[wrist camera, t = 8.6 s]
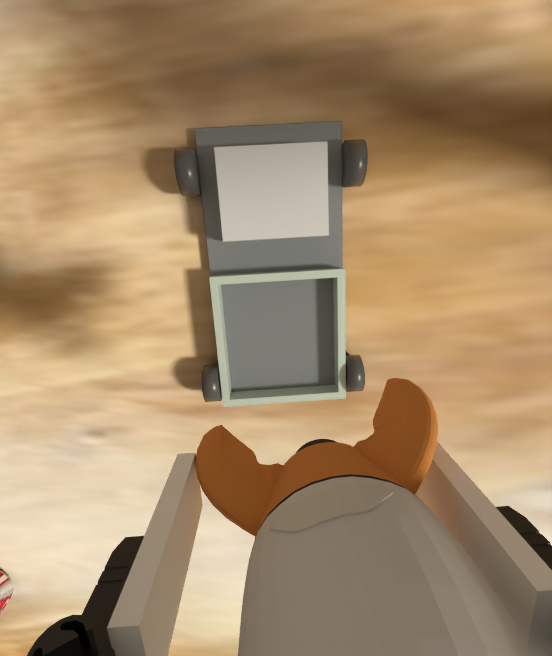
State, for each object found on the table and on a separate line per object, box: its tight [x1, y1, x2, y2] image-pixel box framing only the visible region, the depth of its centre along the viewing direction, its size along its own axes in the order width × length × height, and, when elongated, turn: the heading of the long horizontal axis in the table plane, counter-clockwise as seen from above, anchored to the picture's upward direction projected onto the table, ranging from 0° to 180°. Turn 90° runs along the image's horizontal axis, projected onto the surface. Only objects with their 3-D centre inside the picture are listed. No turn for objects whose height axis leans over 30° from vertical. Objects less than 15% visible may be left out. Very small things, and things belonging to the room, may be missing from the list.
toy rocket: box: [195, 378, 533, 656], centre depth 11 cm, size 10×11×15 cm
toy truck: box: [174, 121, 367, 407], centre depth 33 cm, size 17×28×4 cm, turn 3°
